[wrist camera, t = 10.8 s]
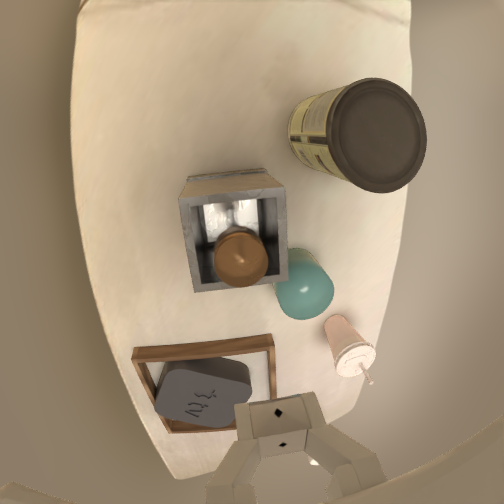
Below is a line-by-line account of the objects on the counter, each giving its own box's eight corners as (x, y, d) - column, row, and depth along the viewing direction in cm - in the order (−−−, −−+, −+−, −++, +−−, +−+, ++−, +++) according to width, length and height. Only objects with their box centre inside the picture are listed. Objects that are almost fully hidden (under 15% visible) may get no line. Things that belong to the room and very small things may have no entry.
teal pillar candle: (267, 251, 40) (278, 274, 33) (317, 245, 40) (335, 266, 34) (270, 295, 42) (280, 323, 36) (316, 288, 43) (332, 314, 37)
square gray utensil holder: (188, 176, 34) (175, 196, 23) (264, 168, 35) (287, 184, 24) (198, 247, 38) (192, 294, 27) (268, 238, 39) (290, 282, 28)
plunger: (201, 190, 33) (193, 229, 20) (254, 184, 34) (281, 219, 21) (208, 239, 36) (206, 303, 23) (258, 233, 36) (283, 293, 23)
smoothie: (342, 339, 48) (374, 397, 35) (310, 337, 47) (338, 399, 34) (357, 310, 46) (397, 365, 33) (325, 305, 44) (360, 366, 32)
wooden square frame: (134, 347, 43) (131, 359, 41) (271, 333, 45) (274, 345, 42) (169, 422, 52) (168, 433, 50) (274, 412, 54) (277, 423, 51)
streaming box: (172, 342, 44) (169, 364, 39) (253, 363, 48) (258, 385, 43) (154, 393, 49) (151, 414, 44) (224, 409, 52) (226, 429, 48)
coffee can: (370, 114, 34) (438, 114, 21) (344, 182, 37) (405, 210, 24) (302, 81, 31) (351, 56, 18) (274, 153, 35) (311, 166, 22)
